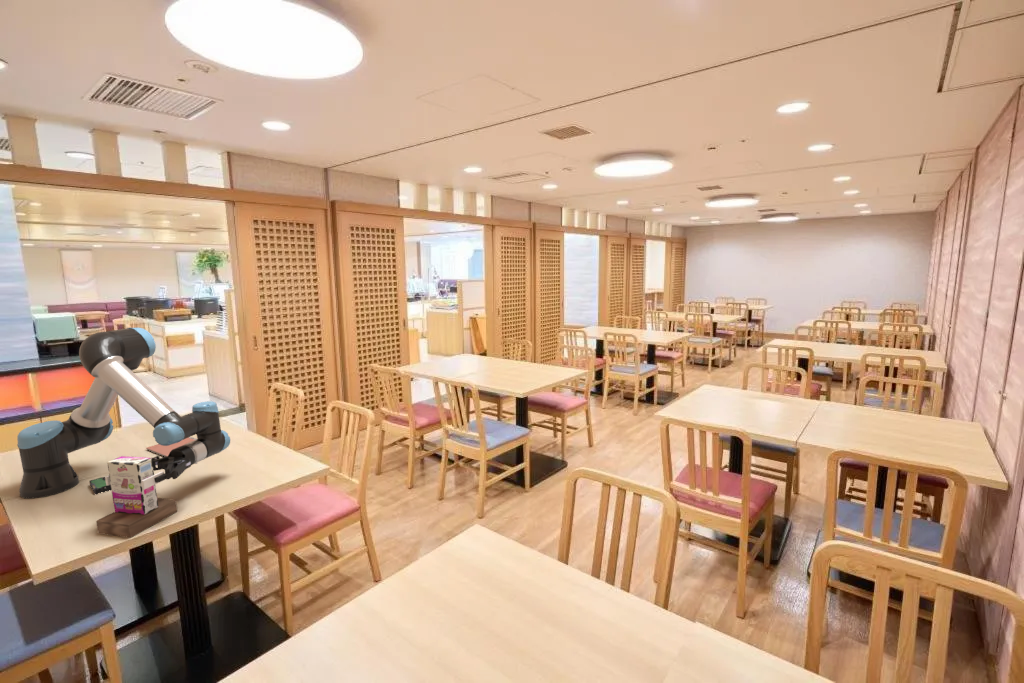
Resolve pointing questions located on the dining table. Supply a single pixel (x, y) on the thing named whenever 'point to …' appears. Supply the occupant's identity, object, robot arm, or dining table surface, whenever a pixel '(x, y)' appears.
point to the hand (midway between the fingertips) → (124, 483)
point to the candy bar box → (132, 485)
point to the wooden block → (135, 520)
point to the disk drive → (99, 485)
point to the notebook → (168, 447)
